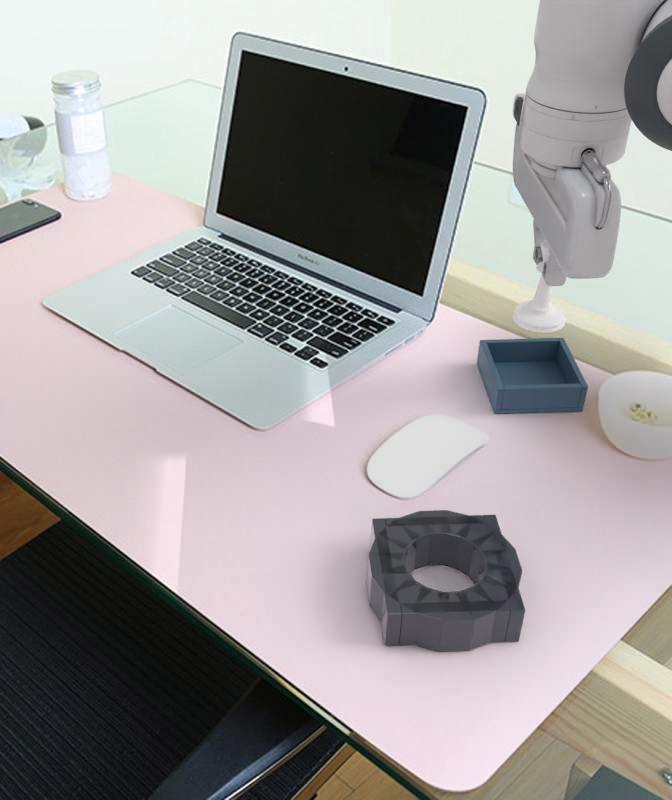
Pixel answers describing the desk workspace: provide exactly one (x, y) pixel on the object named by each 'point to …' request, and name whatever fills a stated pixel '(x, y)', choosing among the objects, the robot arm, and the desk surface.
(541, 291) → the chess piece
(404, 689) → the desk surface
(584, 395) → the basin tray
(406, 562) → the dark grey ring block
